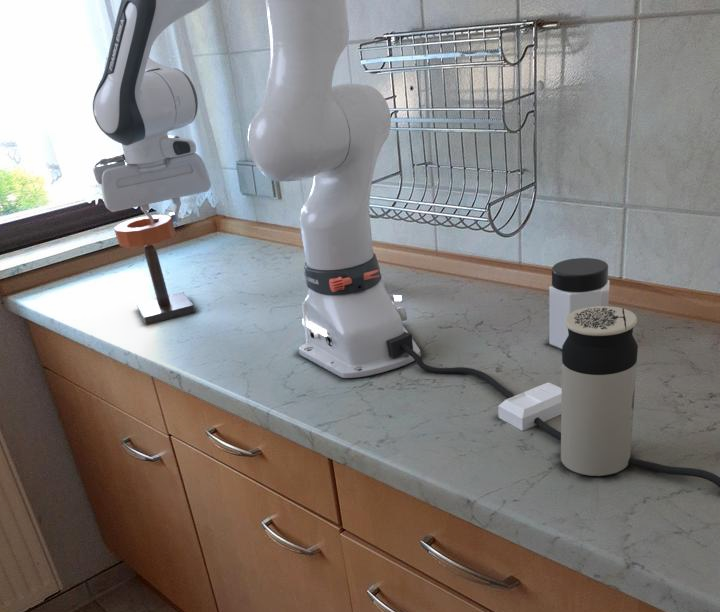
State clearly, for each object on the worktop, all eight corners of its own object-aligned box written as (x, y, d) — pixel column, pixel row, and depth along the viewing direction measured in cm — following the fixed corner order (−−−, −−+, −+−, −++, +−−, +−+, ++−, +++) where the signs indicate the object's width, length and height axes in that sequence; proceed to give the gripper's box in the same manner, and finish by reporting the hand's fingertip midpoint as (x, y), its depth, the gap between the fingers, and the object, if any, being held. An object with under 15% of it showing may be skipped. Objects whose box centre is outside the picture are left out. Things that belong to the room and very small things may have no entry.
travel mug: (555, 475, 93) (557, 331, 83) (566, 441, 99) (568, 304, 90) (626, 481, 90) (636, 333, 81) (632, 446, 96) (642, 305, 87)
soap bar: (575, 408, 106) (575, 390, 105) (522, 430, 103) (522, 412, 101) (550, 396, 110) (550, 379, 108) (498, 417, 106) (498, 400, 105)
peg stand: (195, 312, 159) (178, 244, 151) (146, 324, 156) (126, 256, 149) (185, 298, 167) (168, 233, 159) (138, 310, 164) (119, 244, 157)
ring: (180, 237, 151) (176, 221, 149) (124, 251, 148) (119, 235, 146) (168, 226, 159) (164, 211, 158) (115, 239, 156) (110, 224, 155)
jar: (600, 328, 127) (603, 254, 121) (614, 348, 120) (617, 271, 114) (544, 334, 128) (544, 261, 121) (554, 355, 121) (554, 278, 114)
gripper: (92, 162, 141) (114, 240, 148) (203, 140, 146) (219, 216, 154) (88, 158, 146) (110, 233, 153) (195, 137, 151) (212, 210, 159)
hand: (166, 224), depth 154 cm, fingers closed on ring, 2 cm apart
